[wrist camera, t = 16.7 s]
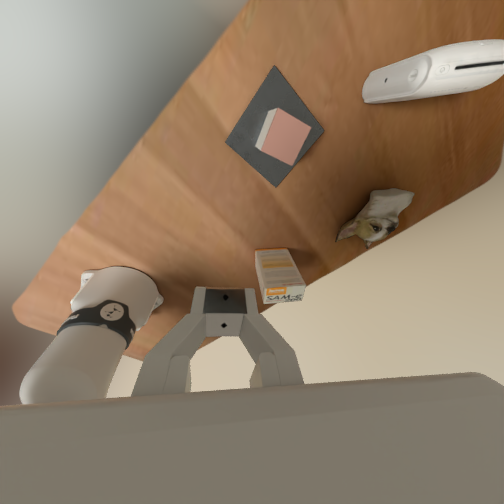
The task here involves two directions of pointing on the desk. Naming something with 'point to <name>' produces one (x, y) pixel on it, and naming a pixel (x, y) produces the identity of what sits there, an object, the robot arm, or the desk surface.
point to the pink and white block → (282, 136)
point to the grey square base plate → (251, 122)
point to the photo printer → (437, 72)
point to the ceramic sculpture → (377, 216)
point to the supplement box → (278, 276)
